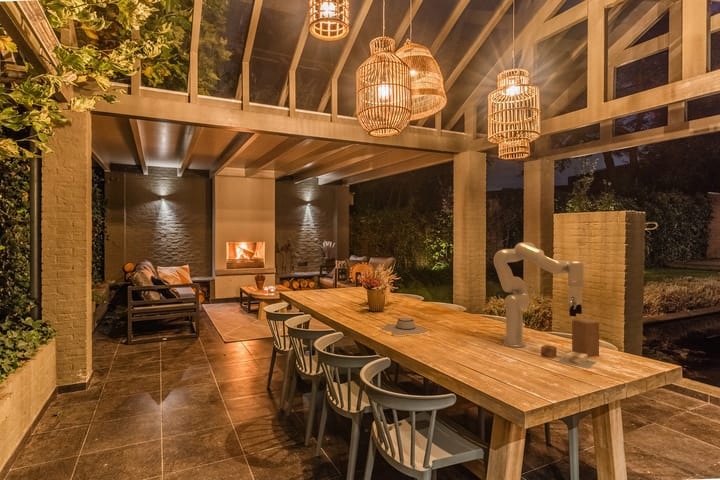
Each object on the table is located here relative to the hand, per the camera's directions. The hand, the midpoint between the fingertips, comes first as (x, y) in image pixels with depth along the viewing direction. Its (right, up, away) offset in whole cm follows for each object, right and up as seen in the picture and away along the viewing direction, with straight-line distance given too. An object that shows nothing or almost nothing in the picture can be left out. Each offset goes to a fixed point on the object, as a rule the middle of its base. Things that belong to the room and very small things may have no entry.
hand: (575, 314), depth 217 cm
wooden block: (+10, -25, +8) cm, 27 cm away
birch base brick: (-3, -24, -7) cm, 25 cm away
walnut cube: (-13, -25, +4) cm, 28 cm away
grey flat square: (-3, -24, -7) cm, 26 cm away
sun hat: (-85, -25, +70) cm, 113 cm away
